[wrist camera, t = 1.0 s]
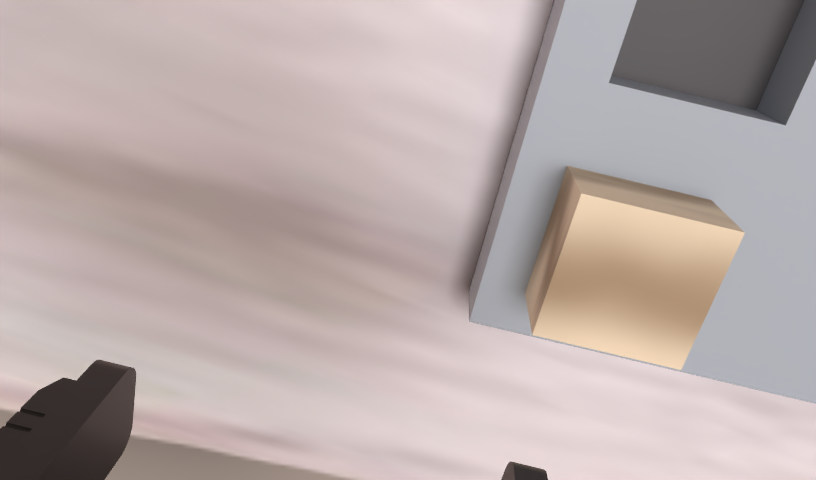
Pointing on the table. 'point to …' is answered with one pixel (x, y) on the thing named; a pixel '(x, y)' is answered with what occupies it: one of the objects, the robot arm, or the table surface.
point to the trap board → (679, 163)
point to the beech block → (629, 267)
